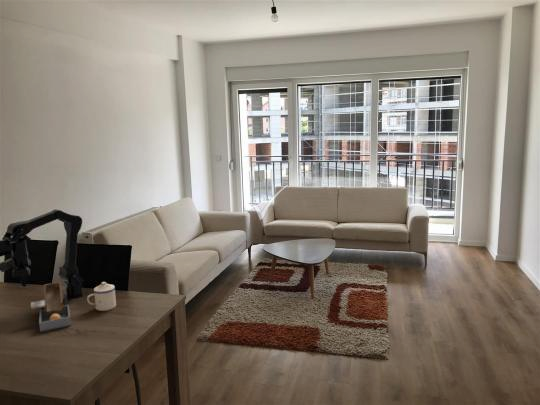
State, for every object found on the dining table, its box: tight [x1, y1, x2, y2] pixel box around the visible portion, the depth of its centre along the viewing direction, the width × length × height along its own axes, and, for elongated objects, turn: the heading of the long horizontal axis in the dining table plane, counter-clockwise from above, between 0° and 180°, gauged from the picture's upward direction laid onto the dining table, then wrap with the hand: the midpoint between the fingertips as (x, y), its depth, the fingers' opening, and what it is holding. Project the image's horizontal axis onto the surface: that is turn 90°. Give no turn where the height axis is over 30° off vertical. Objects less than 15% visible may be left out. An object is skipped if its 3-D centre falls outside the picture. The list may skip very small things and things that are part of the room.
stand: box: [39, 293, 68, 310], centre depth 187 cm, size 11×5×7 cm, turn 117°
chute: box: [30, 281, 65, 313], centre depth 185 cm, size 12×18×6 cm
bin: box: [38, 304, 72, 333], centre depth 177 cm, size 11×14×4 cm
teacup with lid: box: [86, 281, 117, 312], centre depth 189 cm, size 12×9×12 cm
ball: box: [50, 314, 61, 320], centre depth 175 cm, size 4×4×4 cm
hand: (24, 286), depth 186 cm, fingers closed
